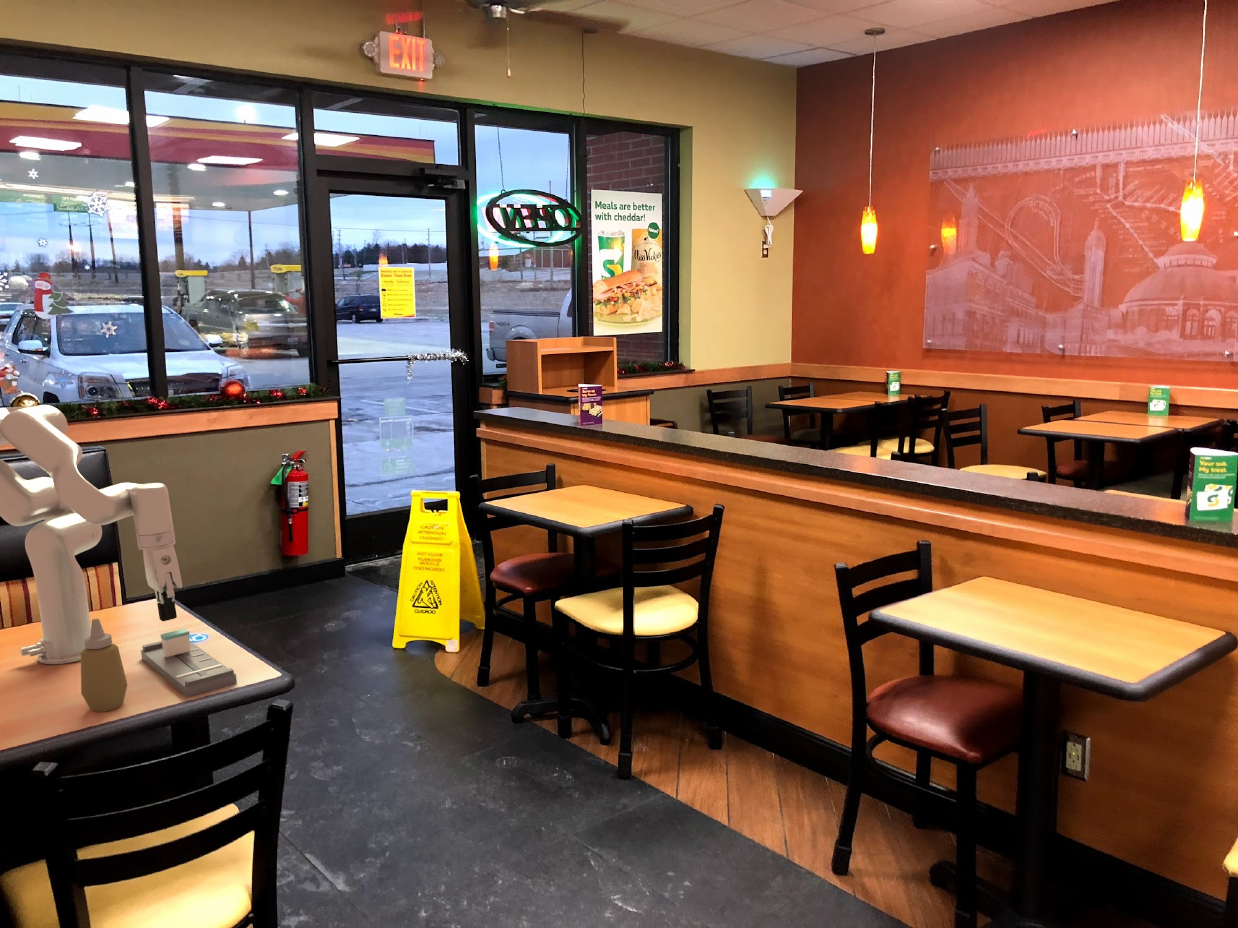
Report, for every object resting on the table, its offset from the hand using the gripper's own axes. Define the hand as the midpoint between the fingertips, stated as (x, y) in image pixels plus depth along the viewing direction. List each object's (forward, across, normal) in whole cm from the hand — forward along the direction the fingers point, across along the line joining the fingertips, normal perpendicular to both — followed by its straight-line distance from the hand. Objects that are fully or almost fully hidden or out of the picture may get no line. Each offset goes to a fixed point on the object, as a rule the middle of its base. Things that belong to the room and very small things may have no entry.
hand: (168, 618), depth 218 cm
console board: (+9, -12, +1) cm, 15 cm away
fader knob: (+6, -6, +1) cm, 9 cm away
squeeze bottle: (+9, -20, +19) cm, 29 cm away
